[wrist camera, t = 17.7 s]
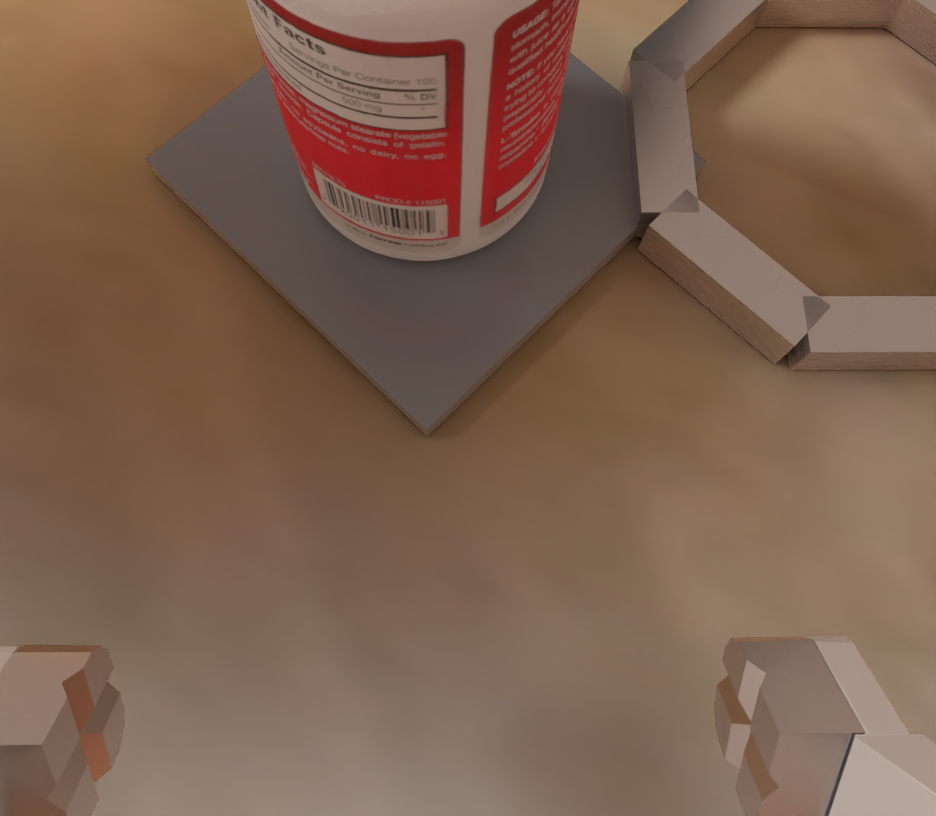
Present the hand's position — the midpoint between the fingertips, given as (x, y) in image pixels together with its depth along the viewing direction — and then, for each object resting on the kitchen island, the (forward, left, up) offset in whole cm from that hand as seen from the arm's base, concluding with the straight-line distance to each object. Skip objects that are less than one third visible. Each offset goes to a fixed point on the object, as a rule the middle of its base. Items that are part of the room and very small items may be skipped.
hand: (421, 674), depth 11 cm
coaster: (+9, +9, -7) cm, 14 cm away
